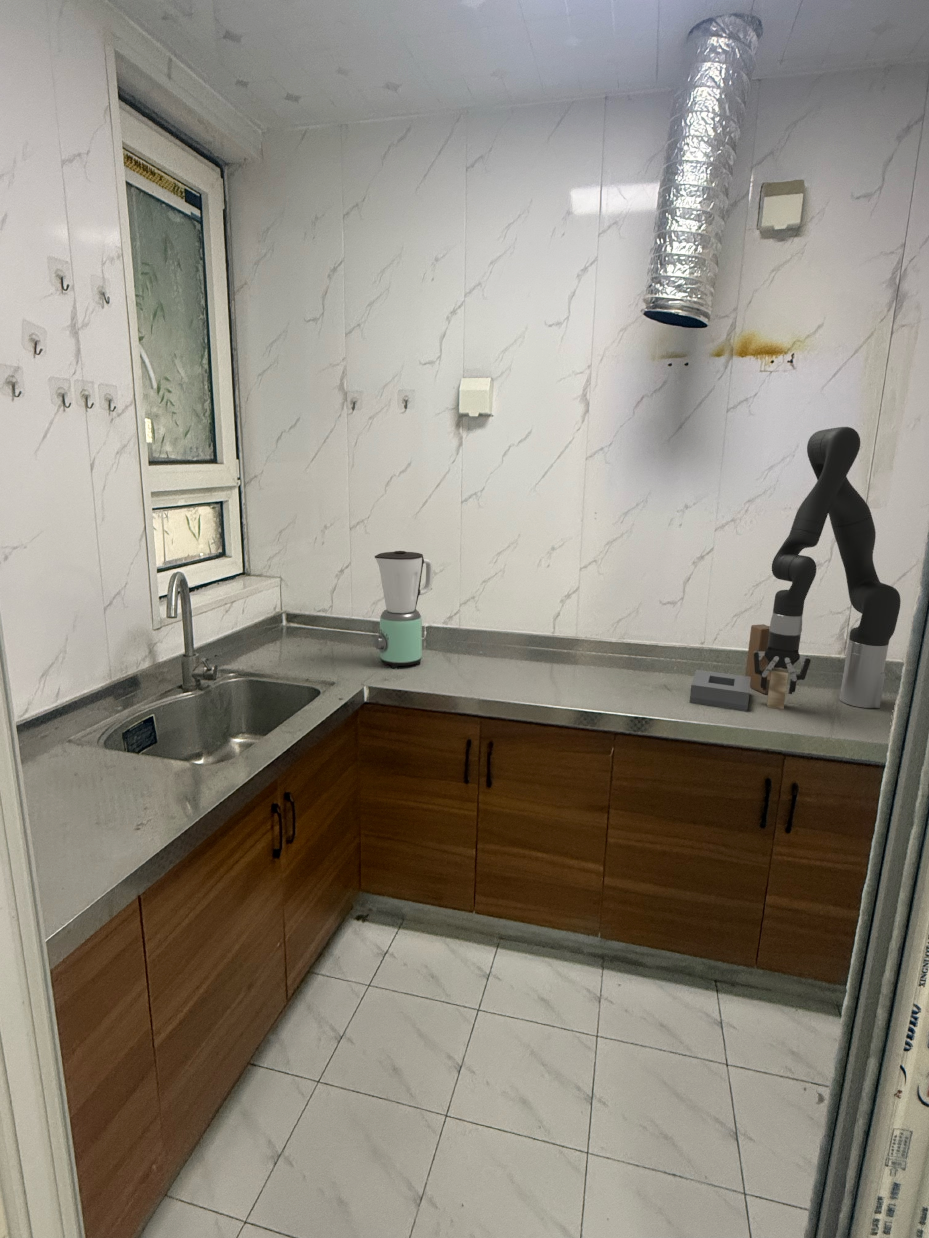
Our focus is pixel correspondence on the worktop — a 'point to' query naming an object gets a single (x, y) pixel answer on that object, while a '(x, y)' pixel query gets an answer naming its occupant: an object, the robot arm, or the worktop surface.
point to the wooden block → (758, 643)
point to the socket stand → (720, 690)
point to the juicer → (401, 607)
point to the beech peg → (777, 688)
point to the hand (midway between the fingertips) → (777, 691)
